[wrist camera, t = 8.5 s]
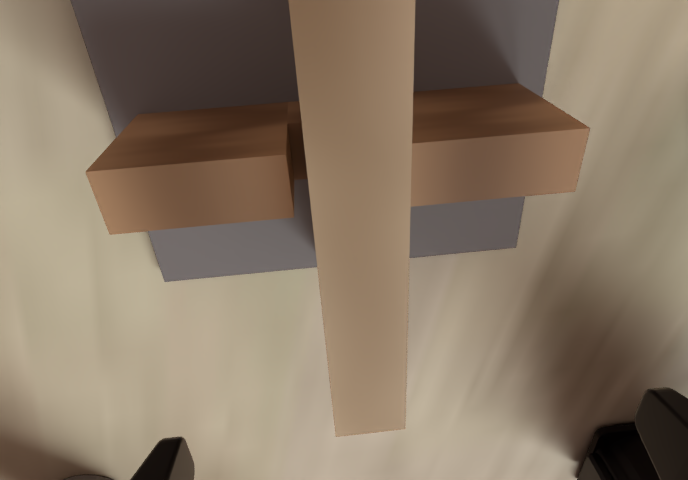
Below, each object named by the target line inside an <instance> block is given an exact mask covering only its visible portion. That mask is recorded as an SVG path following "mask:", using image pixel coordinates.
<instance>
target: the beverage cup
mask: <svg viewBox="0 0 688 480" xmlns="http://www.w3.org/2000/svg"><path fill="white" fill-rule="evenodd" d="M64 480H112V479H110V478H106V477H101V476H95V475H81V476H73V477H70V478H67V479H64Z"/></svg>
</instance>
